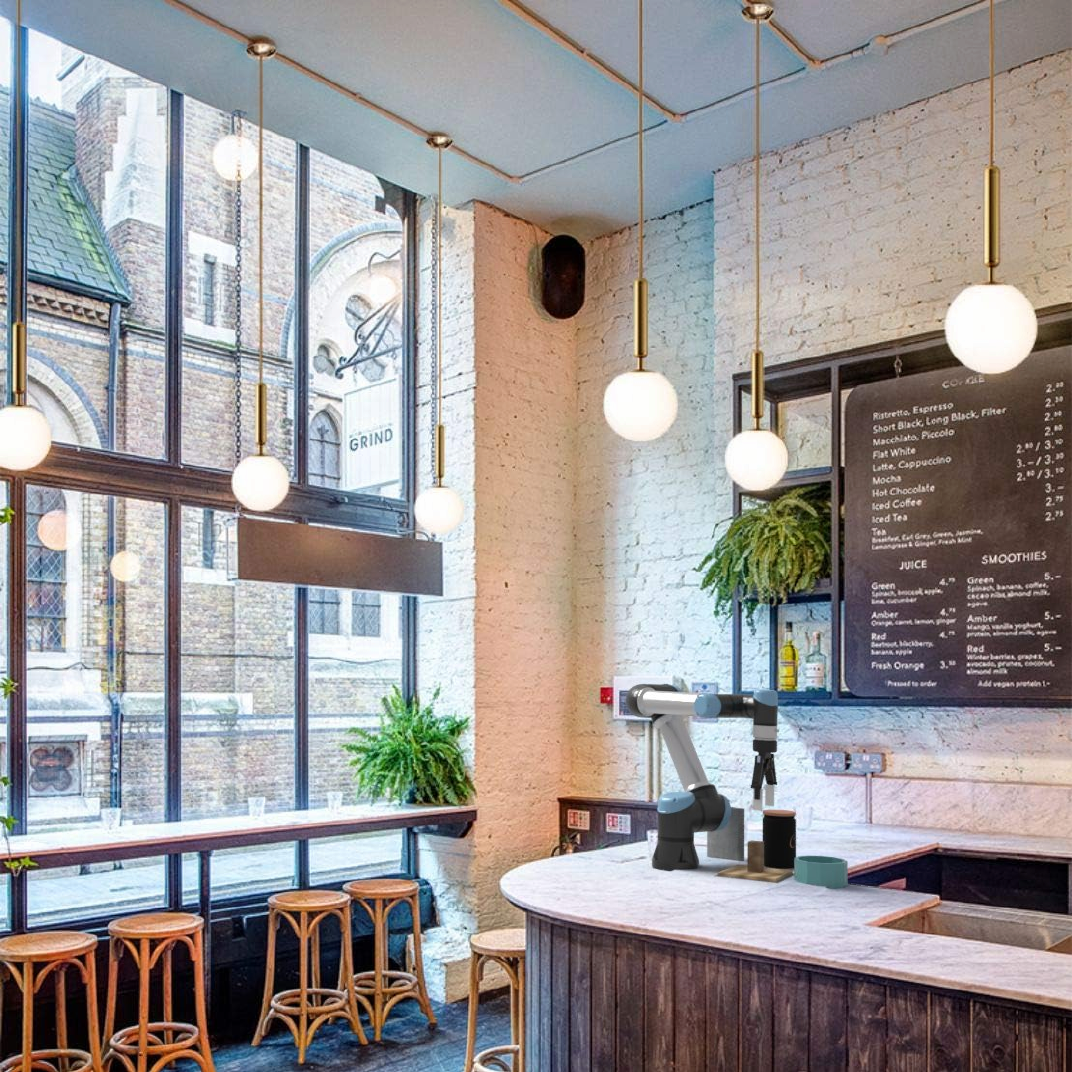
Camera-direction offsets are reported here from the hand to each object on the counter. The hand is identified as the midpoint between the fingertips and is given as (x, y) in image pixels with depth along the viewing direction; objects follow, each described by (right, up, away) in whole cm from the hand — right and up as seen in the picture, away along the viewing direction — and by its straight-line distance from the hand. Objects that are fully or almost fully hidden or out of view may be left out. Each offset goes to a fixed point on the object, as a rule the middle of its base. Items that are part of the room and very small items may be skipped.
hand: (763, 808), depth 360 cm
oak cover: (-3, -20, -3) cm, 20 cm away
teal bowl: (+15, -20, -12) cm, 28 cm away
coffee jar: (+8, -23, +14) cm, 28 cm away
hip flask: (-7, -25, +30) cm, 39 cm away
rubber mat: (-3, -20, -3) cm, 21 cm away
